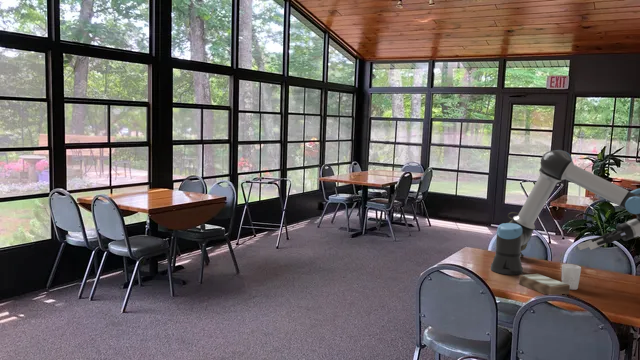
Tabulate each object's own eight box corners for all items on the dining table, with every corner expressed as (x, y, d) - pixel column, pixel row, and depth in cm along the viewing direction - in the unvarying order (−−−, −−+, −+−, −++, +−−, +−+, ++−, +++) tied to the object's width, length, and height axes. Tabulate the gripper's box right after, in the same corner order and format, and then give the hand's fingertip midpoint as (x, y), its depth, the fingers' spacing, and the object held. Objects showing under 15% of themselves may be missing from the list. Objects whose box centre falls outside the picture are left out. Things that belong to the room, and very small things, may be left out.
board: (518, 284, 238) (519, 274, 238) (536, 281, 243) (537, 273, 242) (550, 296, 222) (551, 286, 221) (569, 294, 226) (569, 284, 226)
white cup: (581, 290, 232) (583, 269, 231) (562, 289, 233) (564, 267, 232) (576, 285, 239) (578, 264, 238) (558, 284, 241) (559, 263, 240)
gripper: (646, 236, 221) (598, 254, 222) (621, 239, 245) (578, 255, 247) (638, 220, 222) (590, 238, 224) (614, 224, 246) (571, 240, 248)
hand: (583, 247), depth 235 cm, fingers open, 13 cm apart
